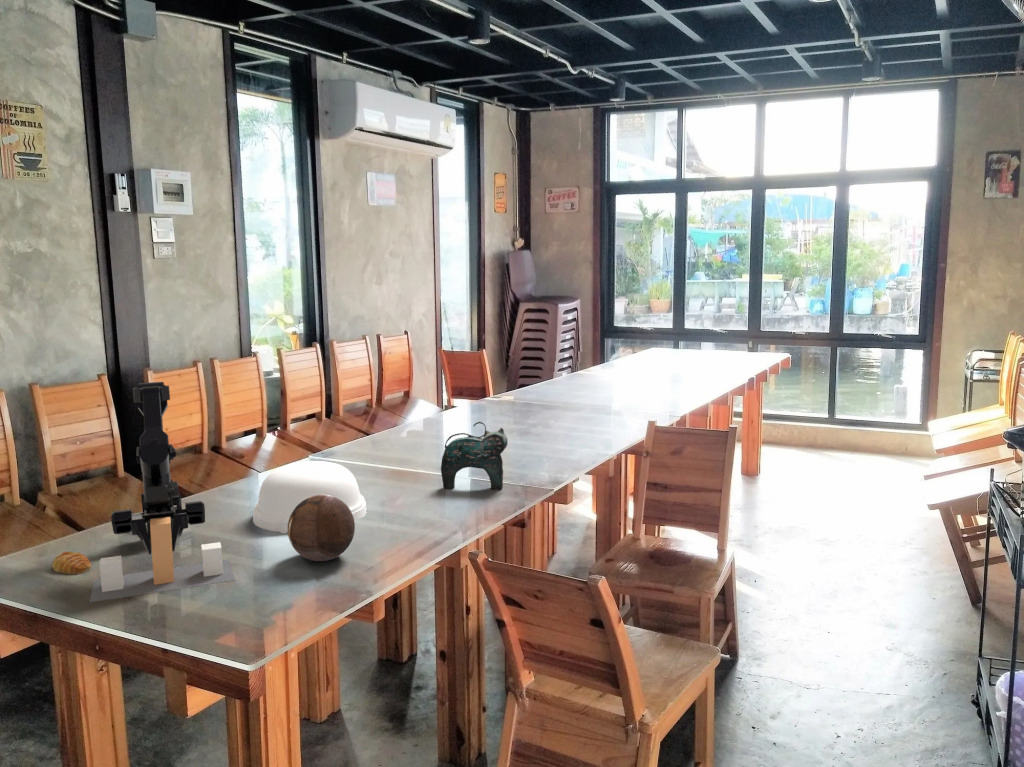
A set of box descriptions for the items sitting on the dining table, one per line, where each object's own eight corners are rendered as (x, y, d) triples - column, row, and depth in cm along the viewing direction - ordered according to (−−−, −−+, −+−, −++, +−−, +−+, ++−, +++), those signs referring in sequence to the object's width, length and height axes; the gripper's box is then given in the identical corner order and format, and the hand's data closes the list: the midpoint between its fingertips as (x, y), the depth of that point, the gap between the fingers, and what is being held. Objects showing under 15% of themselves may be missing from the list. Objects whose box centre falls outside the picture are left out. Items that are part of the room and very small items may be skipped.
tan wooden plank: (154, 576, 186) (150, 519, 184) (173, 574, 188) (170, 516, 186) (154, 584, 181) (150, 525, 180) (174, 582, 183) (170, 523, 181)
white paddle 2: (203, 570, 189) (201, 544, 188) (222, 567, 191) (220, 542, 190) (204, 576, 186) (202, 550, 185) (223, 573, 187) (221, 547, 186)
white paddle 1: (103, 585, 182) (100, 558, 181) (123, 582, 183) (121, 555, 182) (102, 591, 178) (99, 564, 177) (123, 588, 180) (120, 561, 179)
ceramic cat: (508, 485, 257) (507, 420, 254) (506, 491, 251) (505, 424, 248) (443, 485, 259) (441, 420, 256) (439, 490, 253) (437, 424, 250)
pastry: (100, 570, 193) (98, 554, 192) (71, 580, 187) (69, 563, 187) (77, 563, 198) (76, 547, 198) (48, 572, 193) (46, 556, 192)
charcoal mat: (94, 581, 186) (94, 579, 186) (229, 561, 196) (229, 559, 196) (90, 604, 173) (89, 602, 173) (234, 582, 183) (234, 580, 183)
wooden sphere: (360, 547, 204) (357, 486, 202) (351, 569, 189) (347, 504, 187) (297, 549, 204) (293, 488, 202) (282, 572, 189) (278, 506, 187)
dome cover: (337, 537, 213) (334, 482, 211) (229, 531, 219) (225, 478, 217) (384, 501, 244) (382, 453, 242) (287, 497, 250) (284, 450, 248)
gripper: (107, 475, 181) (109, 540, 173) (201, 465, 188) (207, 527, 180) (112, 501, 190) (114, 565, 181) (202, 491, 197) (208, 552, 188)
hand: (161, 552), depth 182 cm, fingers closed on tan wooden plank, 4 cm apart
